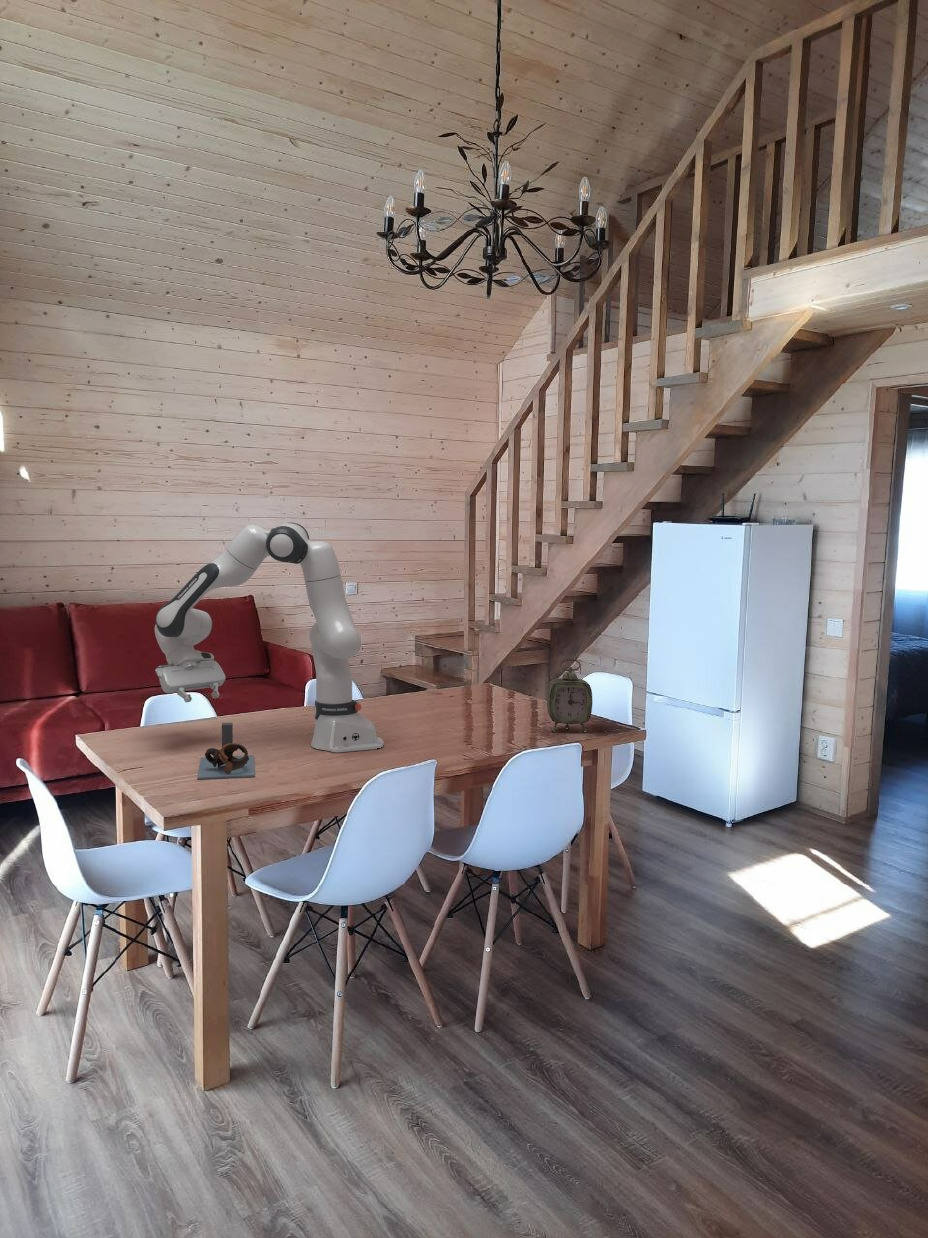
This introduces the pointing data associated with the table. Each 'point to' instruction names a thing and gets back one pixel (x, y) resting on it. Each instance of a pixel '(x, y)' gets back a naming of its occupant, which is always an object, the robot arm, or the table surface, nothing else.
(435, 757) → the table surface
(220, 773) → the grey base with post
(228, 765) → the brown looped bands
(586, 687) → the tabletop clock
